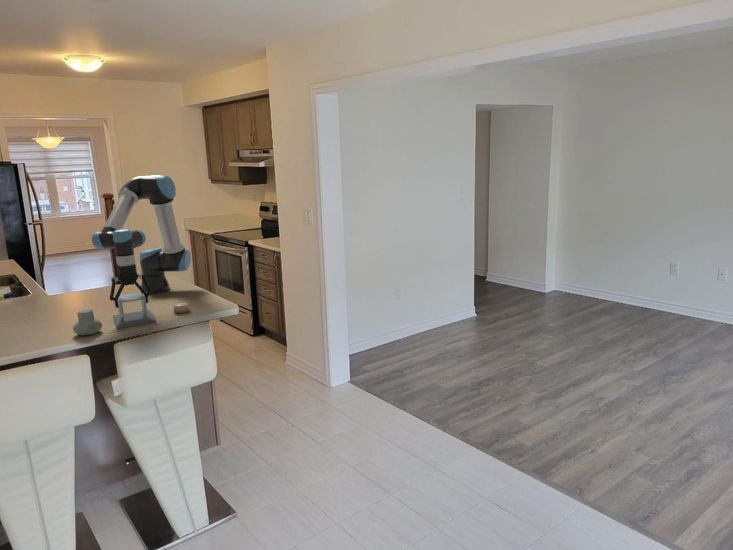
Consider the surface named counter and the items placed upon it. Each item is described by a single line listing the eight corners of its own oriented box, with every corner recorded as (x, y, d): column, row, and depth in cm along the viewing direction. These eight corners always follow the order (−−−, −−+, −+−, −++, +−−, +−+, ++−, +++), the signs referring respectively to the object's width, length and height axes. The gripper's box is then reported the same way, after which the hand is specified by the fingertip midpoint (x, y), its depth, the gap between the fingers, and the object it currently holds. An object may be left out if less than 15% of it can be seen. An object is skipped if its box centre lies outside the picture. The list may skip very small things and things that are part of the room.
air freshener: (92, 328, 228) (89, 306, 226) (106, 330, 225) (103, 308, 223) (70, 336, 219) (66, 314, 216) (84, 338, 215) (80, 315, 213)
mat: (113, 317, 243) (112, 315, 243) (149, 311, 251) (149, 309, 251) (117, 329, 226) (116, 326, 226) (156, 322, 234) (155, 320, 234)
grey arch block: (120, 313, 241) (117, 295, 239) (143, 309, 245) (141, 292, 244) (123, 320, 231) (120, 301, 229) (147, 316, 235) (144, 297, 233)
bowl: (172, 311, 250) (171, 304, 249) (187, 308, 253) (186, 301, 252) (175, 314, 244) (174, 307, 243) (190, 312, 247) (190, 305, 247)
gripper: (98, 269, 224) (106, 318, 229) (154, 262, 235) (160, 309, 240) (97, 266, 230) (105, 314, 236) (152, 259, 241) (158, 306, 246)
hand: (133, 312), depth 238 cm, fingers closed on grey arch block, 10 cm apart
